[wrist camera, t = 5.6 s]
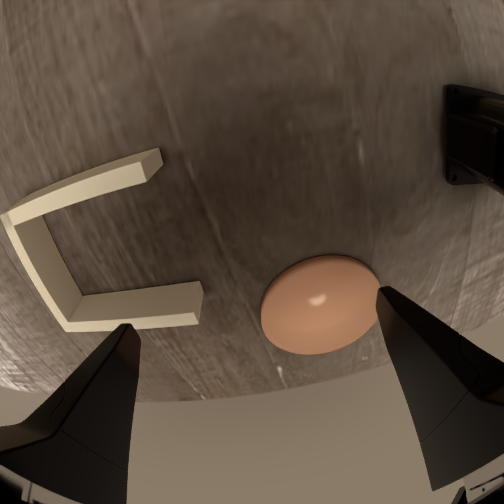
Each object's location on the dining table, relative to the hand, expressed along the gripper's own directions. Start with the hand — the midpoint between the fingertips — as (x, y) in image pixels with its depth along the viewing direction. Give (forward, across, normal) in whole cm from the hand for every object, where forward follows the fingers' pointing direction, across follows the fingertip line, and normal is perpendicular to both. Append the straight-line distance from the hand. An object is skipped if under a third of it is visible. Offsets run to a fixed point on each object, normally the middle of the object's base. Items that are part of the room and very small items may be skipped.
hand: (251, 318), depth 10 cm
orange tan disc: (+8, -4, +8) cm, 12 cm away
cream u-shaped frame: (+8, +10, 0) cm, 12 cm away
